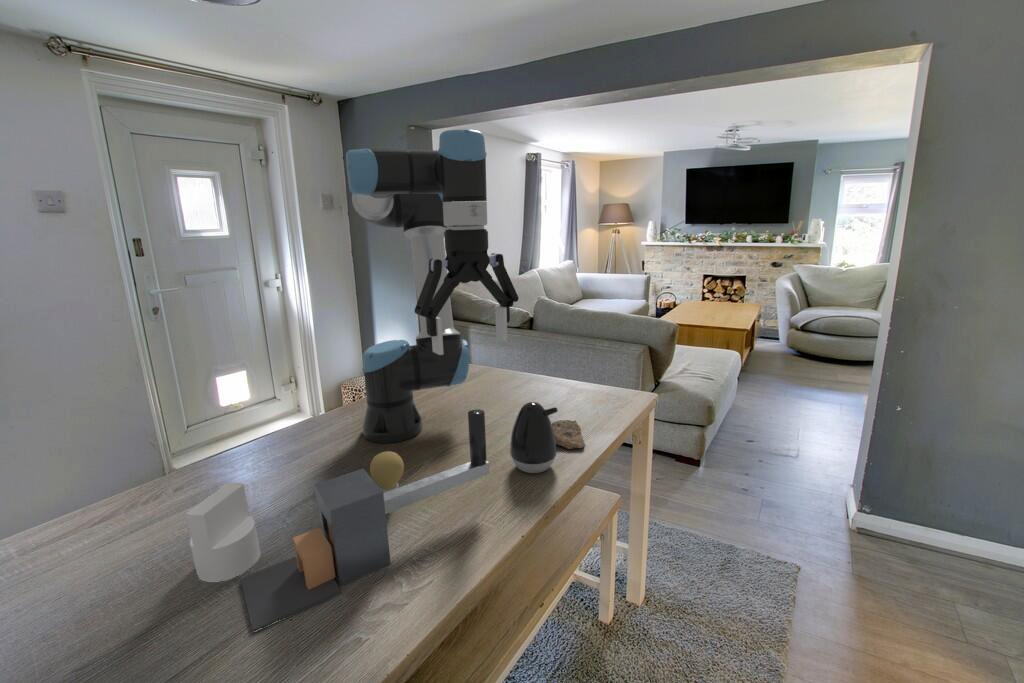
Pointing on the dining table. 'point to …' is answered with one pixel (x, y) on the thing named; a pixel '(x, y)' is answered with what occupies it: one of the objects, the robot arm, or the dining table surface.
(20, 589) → the dining table surface
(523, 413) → the pump dispenser
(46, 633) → the dining table surface
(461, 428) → the dining table surface
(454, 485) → the shaft
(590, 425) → the dining table surface
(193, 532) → the cylinder with rectangular tab
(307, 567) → the tan wooden block
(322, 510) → the bearing block
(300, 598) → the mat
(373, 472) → the light bulb
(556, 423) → the rock
